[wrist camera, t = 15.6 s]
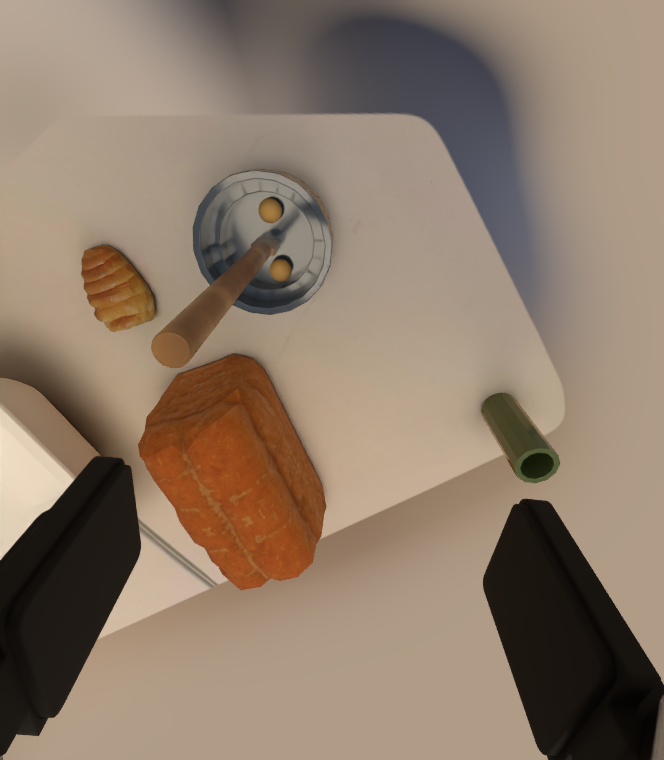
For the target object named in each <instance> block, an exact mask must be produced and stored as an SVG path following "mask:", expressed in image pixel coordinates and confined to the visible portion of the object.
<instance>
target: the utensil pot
mask: <svg viewBox="0 0 664 760" xmlns="http://www.w3.org/2000/svg"><path fill="white" fill-rule="evenodd" d="M481 411H482V416H483V417H484V420H485V422H486V424H487V425H488V427H489V429H490V431H491V432H492V434H493V436H494V438H495V439H496V441H497V443H498V444H499V446H500V448H501V450H502V451H503V453H504V455H505V457H506V458H507V460H508V462H509V463H510V465H511V467H512V469H513V471H514V472H515V474H516V476H517V477H518V478H520V479H521V480H523V481H524V482H530V483H538V482H541V481H545V480H547V479H549V478H550V477H551V476H552V475H554V474H555V473H556V471H557V469H558V467H559V465H560V461H559V457H558V454H557V453H556V452H555V450H554V449H553V448H552V446H551V445H550V444H549V442H548V441H547V440H546V438H545V437H544V436H543V434H542V433H541V432H540V431H539V429H538V428H537V427H536V425H535V424H534V423H533V421H532V420H531V419H530V417H529V416H528V415H527V413H526V412H525V411H524V409H523V408H522V407H521V406H520V404H519V403H518V402H517V400H515V399H514V397H513V396H511V395H509V394H505V393H499V394H495V395H492V396H491V397H489V398H488V399H487V400H486V401H485V402H484V404H483V406H482V410H481Z"/></svg>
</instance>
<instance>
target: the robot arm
mask: <svg viewBox="0 0 664 760" xmlns="http://www.w3.org/2000/svg"><path fill="white" fill-rule="evenodd" d="M140 550H141V540H140V532H139V524H138V517H137V509H136V501H135V494H134V486H133V478H132V471H131V467H130V466H129V465H125V463H124V461H123V459H121V458H113V457H103V456H96V457H94V458H93V459H92V460H91V461H90V462H89V463H88V464H87V465H86V467H85V468H84V469H83V470H82V471H81V473H80V474H79V475H78V476H77V477H76V478H75V480H74V481H73V482H72V483H71V484H70V486H69V487H68V488H67V489H66V490H65V491H64V493H63V494H62V495H61V496H60V497H59V499H58V500H57V501H56V502H55V503H54V505H53V506H52V507H51V508H50V509H49V510H47V511H45V512H42V513H41V514H40V515H39V516H38V517H37V518H36V519H35V520H34V521H33V523H32V524H31V525H30V526H29V527H28V528H27V530H26V531H25V532H24V533H23V534H22V535H21V537H20V538H19V539H18V540H17V541H16V542H15V544H14V545H13V546H12V547H11V548H10V549H9V551H8V552H7V553H6V554H5V555H4V556H3V557H2V559H1V560H0V760H3V757H2V755H4V754H5V753H6V752H7V750H8V748H9V747H10V745H11V743H12V741H13V739H14V738H15V736H16V734H18V735H33V736H39V735H40V733H41V731H42V729H43V727H44V725H45V723H46V721H47V719H48V718H53V717H55V716H56V715H57V714H58V713H59V711H60V710H61V708H62V707H63V705H64V703H65V701H66V699H67V697H68V695H69V693H70V691H71V689H72V687H73V685H74V683H75V682H76V680H77V678H78V675H79V673H80V672H81V670H82V668H83V666H84V664H85V662H86V660H87V658H88V656H89V654H90V652H91V650H92V648H93V646H94V644H95V642H96V640H97V638H98V637H99V635H100V633H101V631H102V629H103V627H104V625H105V623H106V621H107V619H108V617H109V615H110V613H111V611H112V609H113V607H114V605H115V603H116V601H117V599H118V597H119V595H120V593H121V591H122V590H123V588H124V586H125V584H126V582H127V580H128V578H129V576H130V574H131V572H132V570H133V568H134V566H135V564H136V562H137V560H138V558H139V555H140ZM483 588H484V592H485V595H486V598H487V601H488V604H489V607H490V610H491V613H492V616H493V619H494V622H495V625H496V627H497V630H498V633H499V636H500V639H501V642H502V645H503V648H504V651H505V654H506V657H507V660H508V663H509V665H510V669H511V671H512V674H513V677H514V680H515V683H516V686H517V689H518V692H519V695H520V698H521V701H522V703H523V707H524V709H525V712H526V715H527V718H528V721H529V724H530V727H531V730H532V733H533V736H534V739H535V742H536V744H537V747H538V748H539V750H540V752H542V754H544V755H547V757H548V760H664V685H663V683H662V681H661V678H660V676H659V674H658V673H657V671H656V670H655V668H654V667H653V665H652V663H651V662H650V660H649V659H648V657H647V656H646V654H645V652H644V651H643V649H642V648H641V646H640V644H639V643H638V641H637V639H636V638H635V636H634V635H633V633H632V632H631V630H630V628H629V627H628V625H627V624H626V622H625V620H624V619H623V617H622V616H621V614H620V613H619V611H618V609H617V608H616V606H615V604H614V603H613V601H612V600H611V598H610V597H609V595H608V593H607V592H606V590H605V589H604V587H603V585H602V584H601V582H600V581H599V579H598V577H597V576H596V574H595V573H594V571H593V569H592V568H591V566H590V565H589V563H588V562H587V560H586V558H585V557H584V555H583V554H582V552H581V550H580V549H579V547H578V546H577V544H576V542H575V541H574V539H573V538H572V536H571V534H570V533H569V531H568V530H567V528H566V527H565V525H564V523H563V522H562V520H561V519H560V517H559V515H558V514H557V512H556V511H555V509H554V508H553V506H552V505H551V504H550V503H549V502H548V501H543V500H533V499H522V500H521V501H520V503H519V504H515V505H513V507H512V509H511V512H510V514H509V516H508V519H507V521H506V524H505V526H504V529H503V531H502V533H501V536H500V538H499V541H498V543H497V545H496V548H495V550H494V553H493V555H492V557H491V560H490V562H489V565H488V567H487V569H486V572H485V574H484V578H483Z"/></svg>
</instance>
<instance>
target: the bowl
mask: <svg viewBox="0 0 664 760" xmlns="http://www.w3.org/2000/svg"><path fill="white" fill-rule="evenodd" d="M266 198H273V199H275V200H277V201H278V202H279V203H280V205H281V208H282V215H281V217H280V219H279V220H278V221H277V222H275V223H267V222H265V221H263V220H262V219H261V217H260V215H259V211H258V208H259V205H260V203H261V202H262V201H263V200H264V199H266ZM259 237H260V238H267V239H274V240H280V248H279V249H278V251H277V252H276V254H275V255H274V256H269V258H268V259H267V260H266V262H265V263H264V264H263V266H262V267H261V268H260V270H259V271H258V272H257V273H256V275H255V276H254V277H253V279H252V280H251V281H250V283H249V284H248V285H247V286H246V288H245V289H244V290H243V292H242V293H241V294H240V296H239V297H238V298H237V299H236V301H235V302H234V303H233V305H234V306H236V307H238V308H241V309H243V310H245V311H248V312H251V313H259V314H268V315H272V314H277V313H282V312H287V311H291V310H293V309H294V308H296V307H298V306H300V305H302V304H303V303H305V302H307V301H308V300H309V299H310V298H311V297H312V296H313V295H314V294H315V292H316V291H317V290H318V289H319V288H320V287H321V285H322V283H323V281H324V279H325V277H326V274H327V272H328V270H329V268H330V261H331V252H332V242H333V234H332V229H331V224H330V218H329V215H328V213H327V211H326V209H325V207H324V206H323V204H322V202H321V200H320V198H319V197H318V196H317V195H316V194H315V193H314V192H313V191H312V190H311V189H310V188H309V187H308V186H307V185H306V184H305V183H304V182H303V181H301V180H299V179H297V178H295V177H293V176H291V175H289V174H287V173H285V172H280V171H273V170H265V169H260V170H250V171H246V172H241V173H237V174H233V175H230V176H229V177H227V178H226V179H224V180H223V181H221V182H220V183H218V184H217V185H215V186H214V187H213V188H212V189H211V190H210V191H209V193H208V194H207V196H206V197H205V198H204V200H203V201H202V203H201V204H200V205H199V208H198V211H197V215H196V218H195V222H194V225H193V248H194V253H195V256H196V259H197V262H198V265H199V268H200V271H201V273H202V274H203V276H204V277H205V279H206V280H207V282H208V283H209V284H210V285H211V284H212V283H213V282H214V281H215V280H217V279H218V278H219V277H220V276H221V275H222V274H223V273H224V272H225V271H226V270H227V269H228V268H229V267H231V266H232V265H233V264H234V263H235V262H236V261H237V260H238V259H239V258H240V257H241V256H242V255H244V254H245V253H246V252H247V251H248V250H249V249H250V245H251V244H252V243H253V242H254V241H255V240H256V239H258V238H259ZM276 259H284V260H286V261H287V262H288V263H289V264H290V266H291V270H292V271H291V275H290V277H289V278H288V279H287V280H285V281H276V280H275V279H273V278H272V276H271V275H270V271H269V268H270V265H271V263H272V262H273V261H274V260H276Z"/></svg>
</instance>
